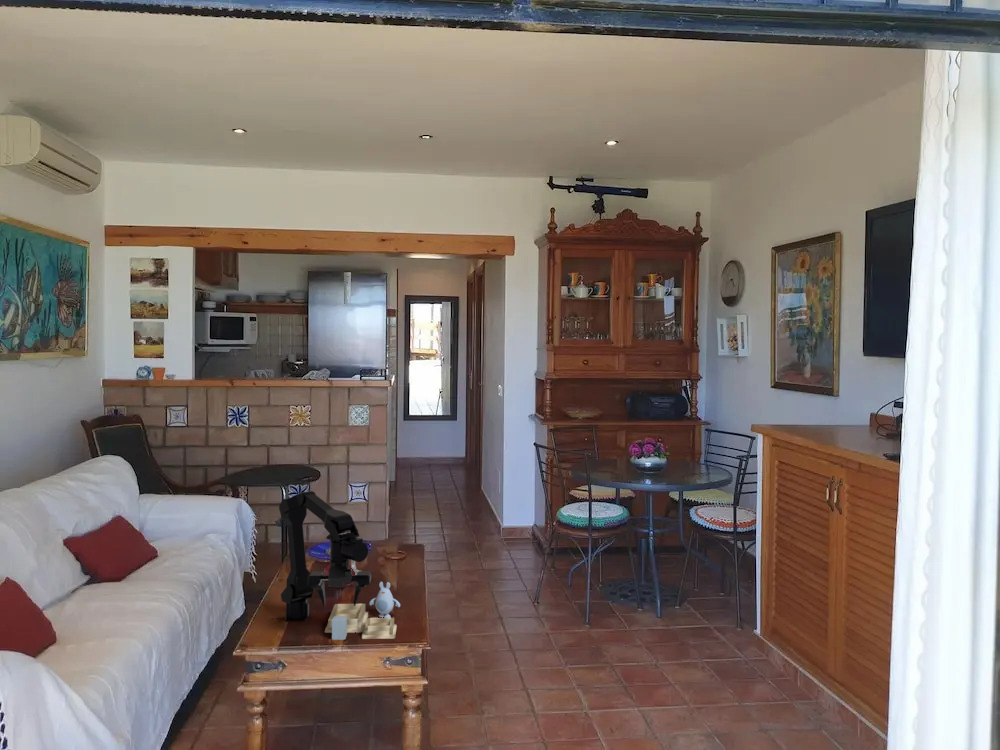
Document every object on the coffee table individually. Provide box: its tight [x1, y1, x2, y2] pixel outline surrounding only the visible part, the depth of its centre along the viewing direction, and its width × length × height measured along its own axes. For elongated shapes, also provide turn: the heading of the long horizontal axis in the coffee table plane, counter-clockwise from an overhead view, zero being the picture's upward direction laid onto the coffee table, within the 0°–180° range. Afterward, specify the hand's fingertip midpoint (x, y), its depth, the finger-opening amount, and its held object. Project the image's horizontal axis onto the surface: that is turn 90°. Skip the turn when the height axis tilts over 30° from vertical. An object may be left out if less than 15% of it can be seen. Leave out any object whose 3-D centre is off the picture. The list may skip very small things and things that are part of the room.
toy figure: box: [368, 581, 401, 618], centre depth 250 cm, size 11×6×12 cm, turn 81°
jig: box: [324, 603, 398, 640], centre depth 242 cm, size 22×21×4 cm
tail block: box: [331, 616, 348, 641], centre depth 232 cm, size 4×4×6 cm
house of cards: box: [350, 560, 359, 575], centre depth 292 cm, size 9×9×8 cm
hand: (339, 605), depth 232 cm, fingers open, 9 cm apart
